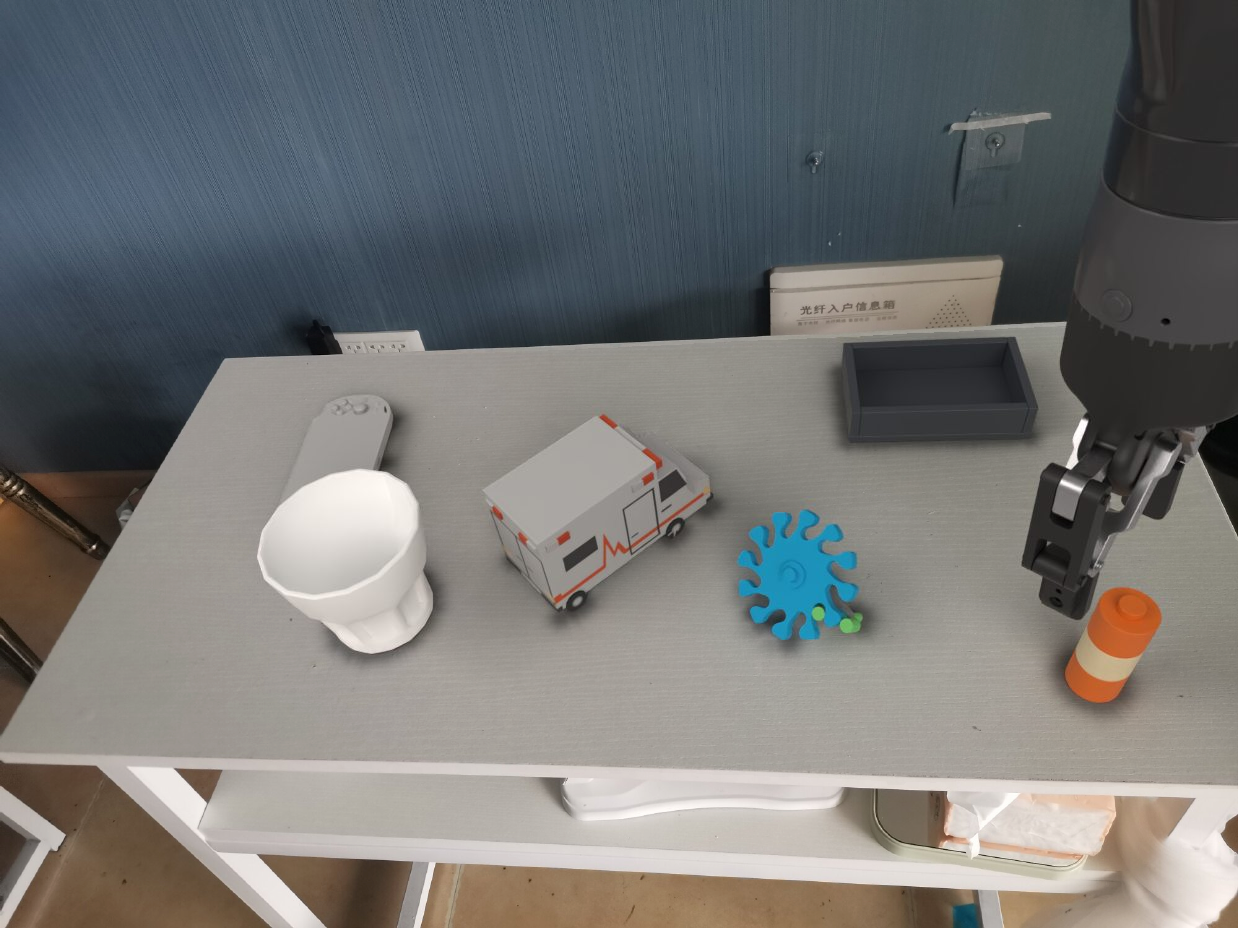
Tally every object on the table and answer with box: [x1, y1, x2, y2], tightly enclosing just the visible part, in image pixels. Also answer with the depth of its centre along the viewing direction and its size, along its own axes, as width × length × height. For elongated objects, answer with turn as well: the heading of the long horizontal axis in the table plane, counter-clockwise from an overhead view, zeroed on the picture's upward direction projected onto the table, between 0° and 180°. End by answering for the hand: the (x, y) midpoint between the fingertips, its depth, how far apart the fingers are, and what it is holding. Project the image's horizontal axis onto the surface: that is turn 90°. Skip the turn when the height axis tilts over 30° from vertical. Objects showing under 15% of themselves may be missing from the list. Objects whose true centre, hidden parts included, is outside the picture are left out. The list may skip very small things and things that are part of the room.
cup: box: [256, 469, 434, 655], centre depth 71 cm, size 12×12×11 cm
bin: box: [840, 336, 1040, 443], centre depth 82 cm, size 16×10×4 cm, turn 85°
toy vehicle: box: [481, 413, 715, 614], centre depth 73 cm, size 10×17×10 cm, turn 129°
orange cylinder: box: [1064, 586, 1163, 704], centre depth 59 cm, size 4×4×10 cm
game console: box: [277, 394, 394, 508], centre depth 86 cm, size 18×2×8 cm
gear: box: [736, 509, 864, 641], centre depth 69 cm, size 11×6×10 cm
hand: (1104, 556), depth 46 cm, fingers open, 8 cm apart
